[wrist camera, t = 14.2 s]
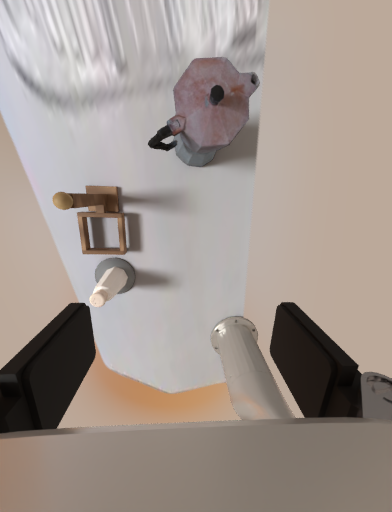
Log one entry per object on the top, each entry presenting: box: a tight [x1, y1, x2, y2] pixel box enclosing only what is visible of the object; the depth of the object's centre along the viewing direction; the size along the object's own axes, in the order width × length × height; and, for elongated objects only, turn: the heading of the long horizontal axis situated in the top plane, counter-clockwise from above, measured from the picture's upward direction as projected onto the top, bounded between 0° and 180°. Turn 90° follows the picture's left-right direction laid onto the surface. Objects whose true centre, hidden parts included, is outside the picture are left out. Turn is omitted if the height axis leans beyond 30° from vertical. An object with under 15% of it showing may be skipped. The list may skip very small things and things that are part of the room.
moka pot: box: [148, 57, 260, 167], centre depth 31 cm, size 10×15×20 cm, turn 122°
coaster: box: [95, 258, 135, 294], centre depth 47 cm, size 9×9×1 cm
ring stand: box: [53, 186, 127, 255], centre depth 36 cm, size 14×9×16 cm, turn 178°
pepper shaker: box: [90, 267, 128, 307], centre depth 41 cm, size 5×5×11 cm
